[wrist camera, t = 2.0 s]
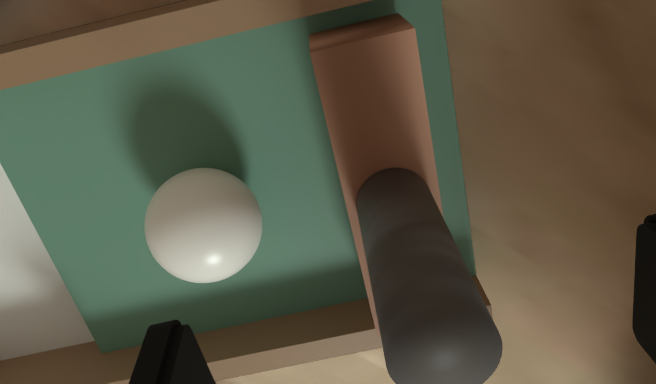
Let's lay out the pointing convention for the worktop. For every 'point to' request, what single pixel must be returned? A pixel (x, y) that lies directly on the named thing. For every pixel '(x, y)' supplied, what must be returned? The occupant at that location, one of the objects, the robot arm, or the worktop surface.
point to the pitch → (181, 155)
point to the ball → (203, 225)
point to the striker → (400, 206)
